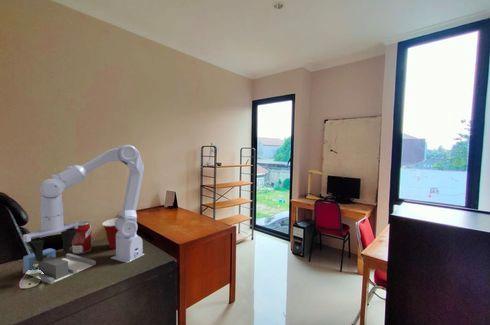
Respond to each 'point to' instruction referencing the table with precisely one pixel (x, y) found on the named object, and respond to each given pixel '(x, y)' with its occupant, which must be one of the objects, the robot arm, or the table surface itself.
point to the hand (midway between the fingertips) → (53, 255)
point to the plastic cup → (111, 232)
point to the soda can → (82, 238)
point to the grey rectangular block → (53, 267)
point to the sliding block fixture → (74, 261)
